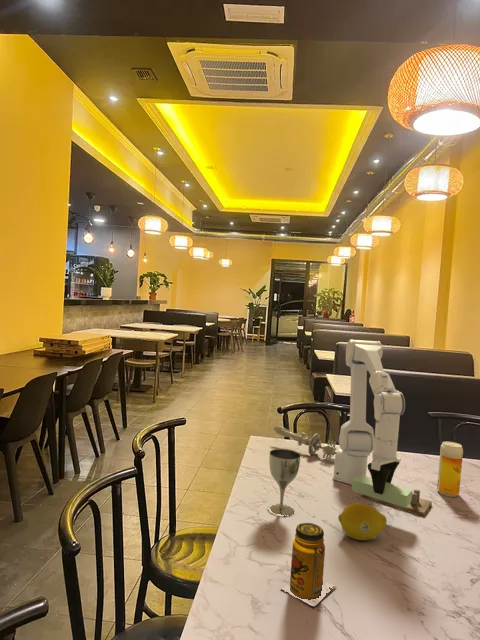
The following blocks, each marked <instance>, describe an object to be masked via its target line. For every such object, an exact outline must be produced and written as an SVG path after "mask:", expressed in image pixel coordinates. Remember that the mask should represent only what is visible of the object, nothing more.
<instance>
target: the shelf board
mask: <svg viewBox="0 0 480 640" xmlns="http://www.w3.org/2000/svg"><path fill="white" fill-rule="evenodd" d="M351 491H352V492H354V493H358V494H360V495H362V494H363V495H367V496H370V497H373V498H376V499H379V500H382V501H386V502H389V503H392V504H395V505H398V506H401V507H405V508H406V507H407V506H408V505H409V504H410V502H411V500H412V493H413V489H410V488H407V487H404V486H400V485H398V484H394V483H392V482H391V483H387V482H386V484H385V489H384V492H383V494H382V495H381V494H378V493H375V492H374V489H373V482H372V477H371V476H367V475H366V476H363V475H360V474H359V475H358V476H357V477H355V478H354V479H353V480H352V485H351Z"/></svg>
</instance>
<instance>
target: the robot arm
mask: <svg viewBox="0 0 480 640" xmlns="http://www.w3.org/2000/svg"><path fill="white" fill-rule="evenodd" d="M383 348H384V347H383V344H382V343H381V341H379V340H375V341H374V340H363V339H361V340H360V339H353V338H352V339H351V338H350V339H349V340H348V341H347V344H346V347H345V365H346V366H348V367H349V368H350V398H349V401H350V402H349V403H350V407H349V420H348V421H346V422H345V423H343V424H342V425H341V426H340V431H339V436H338V445H339V449H337V450H336V451H337V453H336V454H335V455H334V465H333V477H332V480H334V481H338V482H341V483H345V484H347V485H350V486H352V480H353V479H354V478H355V477H357V476H358V475H359V474H360V475H363V476H367V469H368V472H369V474H370V478H372V482H373V489H374V492H375V493H378V494H381V495H382V494H383V492H384V489H385V484H386V482H387V483H391V484H392V480H393V477H394V474H395V472H396V470H397V468H398V467H399V465H400V463H401V460H402V458H401V457H399V456H398V455H397V454H398V452H397V451H398V444H399V442H398V440H399V431H400V419H401V418H400V417H401V416H402V415H404V413H405V410H406V400H405V397H404V394H403V393H402V392H401V391H399V390H397V389H396V388H395V384H394V383H393V380H392V378H391V375H390V374H389V373H388V372H386V371H384V367H383V364H382V360H381V359H382V357H383V353H384V349H383ZM367 373H369V375H370V377H369V380H368V379H367V376H368V375H367ZM367 382H369V385H370V388H371V391H372V394H373V396H374V398H373V409H374V419H375V427H374V428H375V429H374V428H373V427H372V426H371V425H370V424H369V423H367ZM371 453H372V454H371ZM370 454H371V455H372V457H371V458H372V460H371V462H369V463H368V456H371V455H370Z"/></svg>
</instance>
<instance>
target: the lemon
mask: <svg viewBox="0 0 480 640" xmlns="http://www.w3.org/2000/svg"><path fill="white" fill-rule="evenodd" d="M337 519H338V521H339V523H340V525H341V528H342V530H343V532H344V534H345V535H347V536H348V537H349V538H352V539H354V540H356V541H362V542H363V541H368V540H371V539H374V538H376V537H377V536H378V535H379V534H380V533H381V532H382V531H383V530H384V529H386V526H387V517H386V516H385V515H384V514H383V513H381V512H380V511H378V510H377V509H376V508H375V507H374V506H371V505H369V504H366V503H364V502H363V503H362V502H352V503H349V504H347V505H346V506H345V507H344V508H343V510H342V513H340V514H338V517H337Z"/></svg>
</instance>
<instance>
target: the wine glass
mask: <svg viewBox="0 0 480 640" xmlns="http://www.w3.org/2000/svg"><path fill="white" fill-rule="evenodd" d="M268 459H269V462H268V463H269V471H270V474H271V476H272V478H273V480H274V481H275V482H276V484H277V485H278V487H279V494H280V497H279V499H280V500H279V503H275V504H276V505H272V504H271V505H272V506H271V507H270V509H271V511H272V512H273V513H275V514H281V515H284V516H285V515H286V516H287V515H289V517H291V516H290V515H292V514H293V515H295V513H296V512H295V511H296V510H294V508H293V507H292V506H289V505H288V504H284V496H285V493H286V488H287V487H288V486H289V484H291V483H292V482H293V481H294V480H295V479H296V477H297V475H298V474H299V473H298V472H299V470H300V463H301V454H300V452H298V451H296V450H294V449H288V448H274V449H271V450H269V458H268ZM283 504H284V505H283ZM287 505H288V506H287ZM291 507H292V508H291ZM294 512H295V513H294ZM293 515H292V516H293Z"/></svg>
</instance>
